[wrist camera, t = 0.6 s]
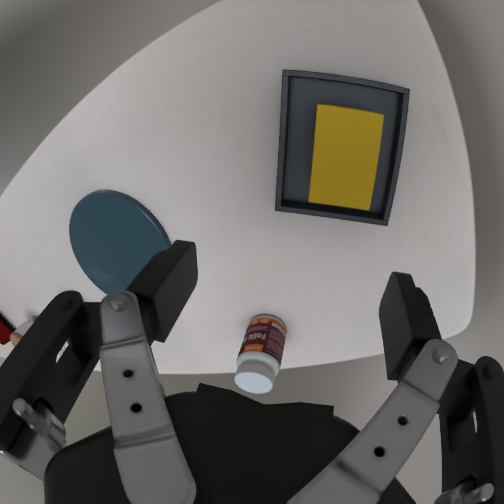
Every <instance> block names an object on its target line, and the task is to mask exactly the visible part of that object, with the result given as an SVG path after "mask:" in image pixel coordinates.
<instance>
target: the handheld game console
mask: <svg viewBox="0 0 504 504" xmlns="http://www.w3.org/2000/svg"><path fill="white" fill-rule="evenodd" d="M14 331H15V330H14V329H13V328H12V327H11V326H10V325H9V323H8V322H7V321H5V320H4V319H3V317H2V316H1V315H0V343H1V344H2V345H5V344H6V343H8V342H9V341H10V340H11V339H10V335H11V334H12V333H13V332H14Z"/></svg>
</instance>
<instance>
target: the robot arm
mask: <svg viewBox="0 0 504 504" xmlns="http://www.w3.org/2000/svg"><path fill="white" fill-rule="evenodd" d="M197 279H198V268H197V254H196V245H195V243H194V242H190V241H183V240H176V241H175V242H174V243H173V244H172V245H171V247H170V248H169V249H168V250H162V251H160V252H159V253H157V254H155V255H154V256H153V257H152V258H151V259H150V260H149V262H148V263H147V264H146V265H145V266H144V268H143V269H142V270H141V271H140V272H139V274H138V275H137V276H136V277H135V278H134V280H133V281H132V282H131V283H130V285H129V286H128V287H127V288H126V289H125V291H124V290H121V291H115V292H112V293H110V294H108V295H107V296H105V297H104V298H103V300H102V301H101V302H84V301H83V298H82V296H81V294H80V293H79V292H77V291H71V290H70V291H65V292H62V293H60V294H58V295H57V296H56V297H55V298H54V299H53V300H52V301H51V302H50V303H49V304H48V306H47V307H46V308H45V309H44V310H43V312H42V313H41V314H40V315H39V316H38V318H37V319H36V320H35V321H34V323H33V324H32V325H31V327H30V328H29V329H28V330H27V332H26V333H25V334H24V336H23V337H22V338H21V339H20V341H19V342H18V343H17V345H16V346H15V347H14V349H13V350H12V352H11V353H10V354H9V356H8V357H7V359H6V360H5V361H4V363H3V364H2V366H1V367H0V455H2V456H3V457H5V458H6V459H7V460H9V461H10V462H12V463H14V464H17V465H18V466H20V467H21V468H23V469H24V470H26V471H28V472H30V473H31V474H33V475H34V476H36V477H37V478H39V479H40V480H42V481H43V482H44V493H45V503H44V504H416V502H415V501H414V500H413V499H412V498H411V496H410V495H409V493H408V492H407V491H406V490H405V488H404V487H403V486H402V485H401V483H400V482H399V481H398V480H397V478H396V477H395V476H396V475H397V473H398V472H399V471H400V469H401V468H402V466H403V465H404V464H405V462H406V461H407V459H408V458H409V456H410V455H411V453H412V452H413V451H414V449H415V447H416V446H417V444H418V443H419V441H420V440H421V438H422V436H423V435H424V433H425V432H426V430H427V428H428V427H429V425H430V423H431V422H432V420H433V418H434V416H435V415H436V413H437V414H439V418H440V432H441V450H442V494H441V495H440V496H439V497H438V498H437V499H436V501H435V502H434V504H504V372H503V369H502V367H501V365H500V364H499V363H498V362H497V361H496V360H495V359H493V358H491V357H488V356H483V357H481V358H479V359H478V360H477V362H476V363H475V364H471V363H468V362H465V361H462V360H460V359H458V356H457V353H456V351H455V349H454V348H453V347H452V346H451V345H450V344H449V343H447V342H445V341H443V340H442V338H441V335H440V332H439V329H438V326H437V323H436V320H435V317H434V315H433V311H432V308H431V307H430V306H431V305H430V303H429V300H428V297H427V296H426V294H425V293H424V292H423V291H422V290H421V289H420V288H418V287H415V284H414V281H413V279H412V276H411V274H407V273H400V272H392V273H391V275H390V278H389V281H388V283H387V286H386V289H385V292H384V294H383V297H382V299H381V302H380V307H379V319H380V325H381V332H382V339H383V346H384V353H385V360H386V370H387V379H388V380H397V381H398V385H397V387H396V388H395V389H394V391H393V392H392V393H391V395H390V396H389V397H388V399H387V400H386V401H385V402H384V404H383V405H382V406H381V408H380V409H379V410H378V411H377V412H376V414H375V415H374V416H373V417H372V419H371V420H370V421H369V422H368V423H367V424H366V426H365V427H364V428H363V429H362V430H361V431H359V430H358V429H357V428H356V427H354V426H353V425H351V424H350V423H349V422H347V421H345V420H343V419H341V418H339V417H337V416H334V415H333V409H334V406H330V405H321V404H311V403H303V402H297V403H284V404H269V405H268V404H262V403H259V402H257V401H255V400H252V399H250V398H248V397H246V396H243V395H241V394H239V393H237V392H234V391H232V390H228V389H224V388H219V387H215V386H211V385H206V384H202V383H200V384H199V386H198V389H197V391H196V392H193V391H192V392H182V393H177V394H173V395H169V396H167V397H166V394H165V391H164V389H163V386H162V383H161V380H160V376H159V373H158V370H157V366H156V363H155V360H154V356H153V353H152V349H151V345H152V343H153V341H154V340H155V341H159V342H163V343H164V342H165V340H166V339H167V337H168V335H169V333H170V331H171V329H172V328H173V326H174V324H175V322H176V320H177V319H178V317H179V315H180V313H181V311H182V310H183V308H184V306H185V304H186V303H187V301H188V299H189V297H190V296H191V294H192V292H193V290H194V288H195V286H196V284H197ZM66 341H67V343H68V344H69V345H68V347H67V348H66V349H65V351H64V352H63V354H62V356H61V357H60V359H59V360H58V362H57V363H56V357H57V354H58V353H59V351H60V350H61V348H62V347H63V345H64V344H65V342H66ZM99 359H100V361H101V369H102V377H103V384H104V390H105V396H106V402H107V407H108V412H109V418H110V422H111V426H109V427H107V428H105V429H103V430H101V431H99V432H96V433H94V434H92V435H90V436H88V437H86V438H84V439H82V440H80V441H77V442H75V443H73V444H71V445H69V446H66V440H65V436H66V432H65V428H64V423H65V421H66V419H67V417H68V415H69V413H70V411H71V409H72V407H73V406H74V404H75V402H76V400H77V398H78V396H79V394H80V393H81V391H82V389H83V387H84V385H85V383H86V382H87V380H88V378H89V376H90V375H91V373H92V371H93V369H94V368H95V366H96V364H97V362H98V361H99ZM474 412H475V413H476V420H477V432H475V425H474V418H473V413H474ZM65 446H66V447H65Z"/></svg>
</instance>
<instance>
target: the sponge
mask: <svg viewBox="0 0 504 504" xmlns="http://www.w3.org/2000/svg"><path fill="white" fill-rule="evenodd" d="M383 119H384V115H383V114H380V113H377V112H373V111H370V110H365V109H359V108H353V107H346V106H340V105H332V104H324V103H317V109H316V123H315V135H314V147H313V158H312V168H311V178H310V190H309V202H313V203H321V204H329V205H336V206H343V207H350V208H356V209H363V210H369V209H370V204H371V199H372V193H373V188H374V182H375V176H376V170H377V164H378V157H379V151H380V143H381V136H382V128H383Z"/></svg>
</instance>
